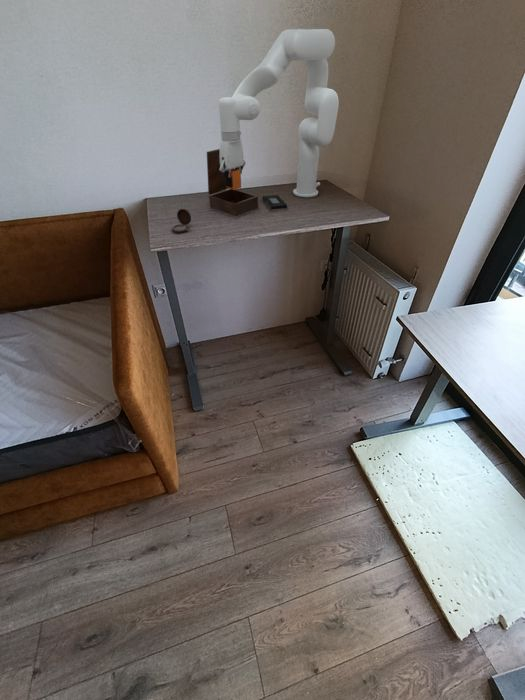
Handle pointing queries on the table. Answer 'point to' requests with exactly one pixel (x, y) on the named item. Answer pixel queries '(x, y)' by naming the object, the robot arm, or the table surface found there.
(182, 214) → the compass
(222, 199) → the case
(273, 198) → the vhs tape
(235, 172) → the block
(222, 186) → the case lid
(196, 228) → the table surface
